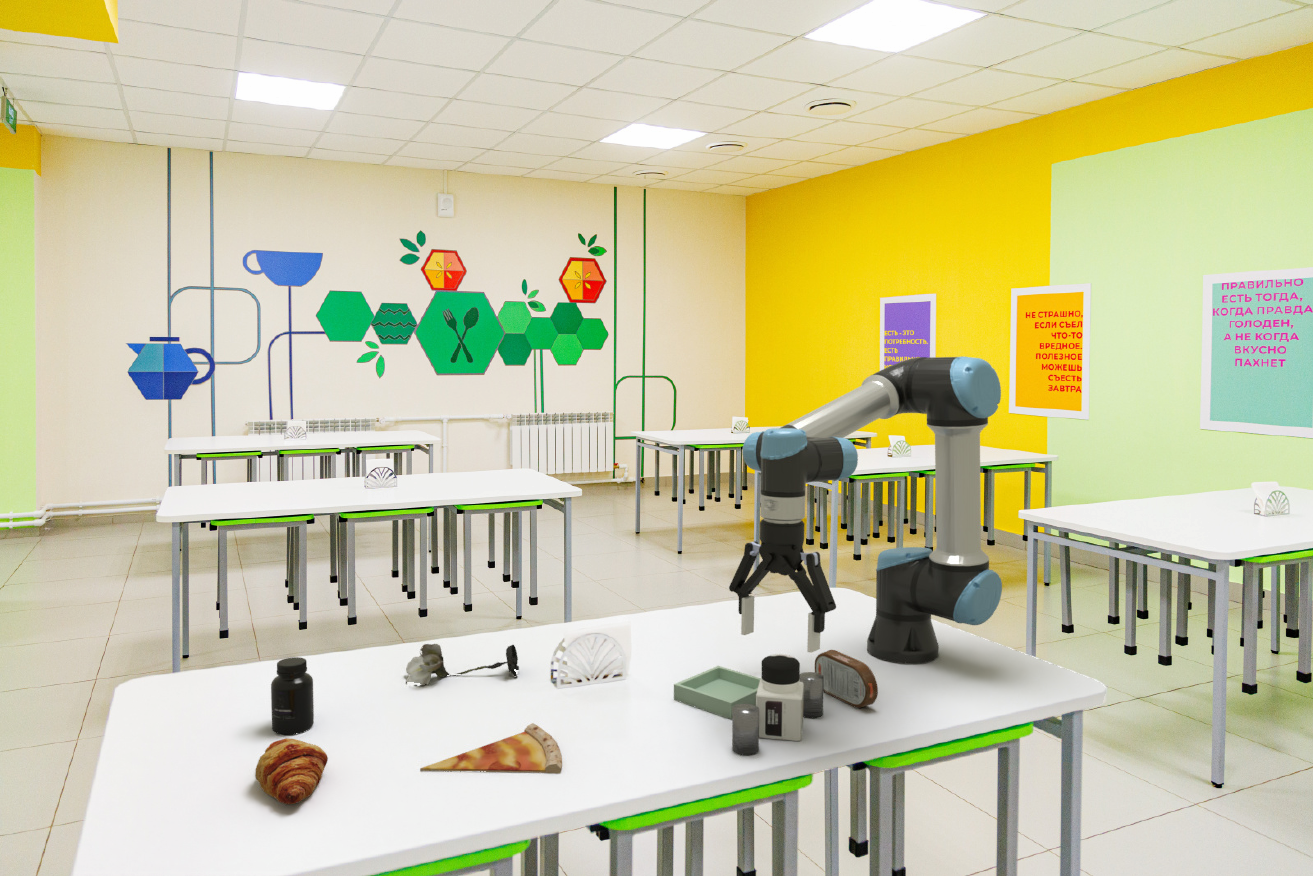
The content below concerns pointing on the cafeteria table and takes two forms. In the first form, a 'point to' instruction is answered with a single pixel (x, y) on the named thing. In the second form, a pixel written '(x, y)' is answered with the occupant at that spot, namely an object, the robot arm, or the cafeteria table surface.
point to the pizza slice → (509, 755)
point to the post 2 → (812, 694)
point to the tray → (718, 690)
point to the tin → (847, 678)
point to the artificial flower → (434, 663)
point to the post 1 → (745, 729)
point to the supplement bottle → (292, 697)
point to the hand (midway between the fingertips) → (779, 641)
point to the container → (780, 698)
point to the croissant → (290, 769)
